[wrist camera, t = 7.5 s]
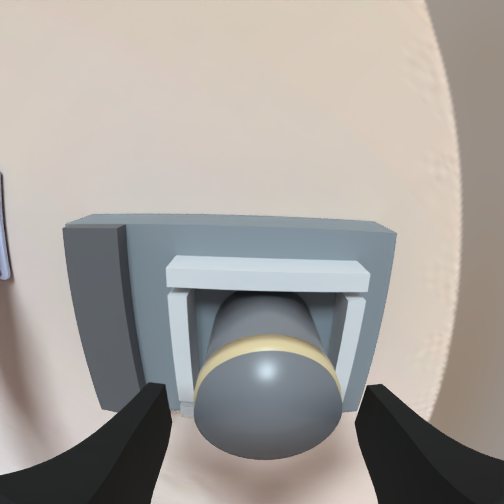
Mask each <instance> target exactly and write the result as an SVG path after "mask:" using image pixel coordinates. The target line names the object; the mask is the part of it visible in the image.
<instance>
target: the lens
mask: <svg viewBox="0 0 504 504" xmlns="http://www.w3.org/2000/svg"><path fill="white" fill-rule="evenodd" d="M193 404H194V419H195V423H196V425H197V428H198V429H199V431H200V433H201V434H202V435H203V436H204V437H205V439H206V440H208V441H209V442H210V443H211V444H212V445H214V446H215V447H217V448H219V449H221V450H222V451H224V452H227V453H229V454H232V455H235V456H238V457H243V458H247V459H255V460H273V459H281V458H287V457H291V456H294V455H298V454H300V453H303V452H305V451H308V450H310V449H312V448H313V447H315V446H317V445H318V444H320V443H321V442H322V441H324V440H325V439H326V438H327V437H328V436H329V435H330V434H331V433H332V432H333V431H334V429H335V428H336V426H337V425H338V423H339V420H340V418H341V414H342V399H341V387H340V383H339V381H338V378H337V375H336V373H335V370H334V367H333V365H332V363H331V361H330V360H329V358H328V357H327V356H326V353H325V350H324V348H323V345H322V342H321V339H320V337H319V334H318V331H317V328H316V326H315V323H314V320H313V318H312V315H311V312H310V310H309V308H308V306H307V304H306V303H305V302H304V301H303V299H302V298H301V297H300V296H298V295H297V294H296V293H294V292H289V291H250V290H237V291H236V292H234V293H232V294H231V295H230V296H228V297H227V298H226V299H225V300H224V301H223V303H222V304H221V305H220V307H219V309H218V311H217V313H216V316H215V319H214V323H213V328H212V332H211V336H210V340H209V344H208V349H207V353H206V357H205V361H204V364H203V366H202V368H201V370H200V372H199V375H198V378H197V383H196V387H195V391H194V396H193Z"/></svg>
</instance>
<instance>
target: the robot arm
mask: <svg viewBox="0 0 504 504" xmlns="http://www.w3.org/2000/svg"><path fill="white" fill-rule="evenodd" d="M10 276H11V273H10V267H9V261H8V255H7V248H6V241H5V233H4V224H3V213H2V198H1V174H0V279H1V280H7V279H9V278H10ZM171 426H172V418H171V413H170V408H169V402H168V397H167V391H166V385H165V384H161V383H153V382H149V383H147V384H146V385H145V386H144V387H143V388H142V389H141V390H140V391H139V392H138V393H137V394H136V396H135V397H134V398H133V399H132V400H131V401H130V402H129V403H128V404H127V405H126V406H124V407H123V408H122V409H121V410H120V411H119V412H118V413H117V414H116V415H115V416H114V417H113V418H112V419H110V420H109V421H108V422H107V423H106V424H104V425H103V426H102V427H101V428H100V429H98V430H97V431H96V432H95V433H93V434H92V435H91V436H89V437H88V438H86V439H85V440H84V441H82V442H81V443H79V444H78V445H76V446H74V447H73V448H71V449H69V450H67V451H66V452H64V453H62V454H60V455H58V456H56V457H54V458H52V459H50V460H48V461H45V462H43V463H41V464H38V465H35V466H33V467H30V468H27V469H24V470H20V471H17V472H13V473H8V474H4V475H0V504H151V499H152V495H153V491H154V488H155V485H156V481H157V478H158V475H159V472H160V469H161V466H162V463H163V460H164V456H165V453H166V450H167V447H168V443H169V438H170V432H171ZM355 427H356V432H357V437H358V442H359V446H360V449H361V452H362V455H363V457H364V460H365V463H366V466H367V469H368V471H369V474H370V477H371V480H372V483H373V486H374V488H375V492H376V495H377V499H378V504H504V461H503V460H500V459H496V458H493V457H490V456H488V455H485V454H482V453H480V452H477V451H475V450H473V449H471V448H468V447H466V446H464V445H462V444H460V443H459V442H457V441H455V440H454V439H452V438H450V437H448V436H447V435H445V434H444V433H442V432H440V431H439V430H438V429H436V428H435V427H433V426H432V425H431V424H429V423H428V422H427V421H425V420H424V419H423V418H421V417H420V416H419V415H418V414H416V413H415V412H414V411H413V410H412V409H410V408H409V407H408V406H407V405H406V404H405V403H403V402H402V401H401V400H400V399H399V398H398V397H397V396H395V395H394V394H393V393H392V392H391V391H390V390H388V389H387V388H386V387H385V386H384V385H382V384H377V385H367V387H366V390H365V393H364V396H363V400H362V403H361V406H360V409H359V412H358V415H357V417H356V420H355Z"/></svg>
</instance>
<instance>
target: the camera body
mask: <svg viewBox="0 0 504 504" xmlns="http://www.w3.org/2000/svg"><path fill="white" fill-rule="evenodd" d="M396 236H397V233H396V232H394V231H392V230H390V229H388V228H386V227H384V226H382V225H380V224H378V223H376V222H372V221H356V220H339V219H321V218H300V217H276V216H247V215H207V214H92V215H89V216H86V217H84V218H81V219H78V220H75V221H72V222H70V223H67V224H66V227H64V228H63V239H64V248H65V257H66V264H67V271H68V278H69V284H70V290H71V296H72V301H73V306H74V311H75V316H76V321H77V325H78V330H79V334H80V338H81V342H82V346H83V350H84V354H85V357H86V361H87V365H88V368H89V371H90V375H91V378H92V381H93V385H94V388H95V391H96V394H97V397H98V400H99V403H100V406H101V408H102V409H104V410H109V411H113V412H119V411H120V410H121V409H122V408H123V407H124V406H126V405H127V404H128V403H129V402H130V401H131V400H132V399H133V398H134V397H135V396H136V394H137V393H138V392H139V391H140V390H141V389H142V388H143V387H144V386H145V385H146V384H147V383H149V382H153V383H161V384H165V385H166V391H167V397H168V402H169V408H170V409H171V410H179V411H181V416H182V417H191V418H194V404H193V396H194V391H195V387H196V383H197V378H198V375H199V372H200V370H201V368H202V366H203V364H204V361H205V357H206V353H207V349H208V344H209V340H210V336H211V332H212V328H213V323H214V319H215V316H216V313H217V311H218V309H219V307H220V305H221V304H222V303H223V301H224V300H225V299H226V298H227V297H228V296H230V295H231V294H232V293H234V292H236V291H237V290H250V291H289V292H294V293H296V294H297V295H298V296H300V297H301V298H302V299H303V301H304V302H305V303H306V304H307V306H308V308H309V310H310V312H311V315H312V318H313V320H314V323H315V326H316V328H317V331H318V334H319V337H320V339H321V342H322V345H323V348H324V350H325V353H326V356H327V357H328V358H329V360H330V361H331V363H332V365H333V367H334V370H335V373H336V375H337V378H338V381H339V383H340V387H341V399H342V412H352V411H357V409H358V406H359V403H360V400H361V397H362V394H363V390H364V387H365V384H366V380H367V377H368V373H369V370H370V366H371V363H372V359H373V355H374V351H375V347H376V343H377V339H378V335H379V331H380V326H381V322H382V318H383V313H384V308H385V303H386V298H387V293H388V288H389V282H390V276H391V270H392V264H393V258H394V251H395V244H396Z"/></svg>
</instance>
